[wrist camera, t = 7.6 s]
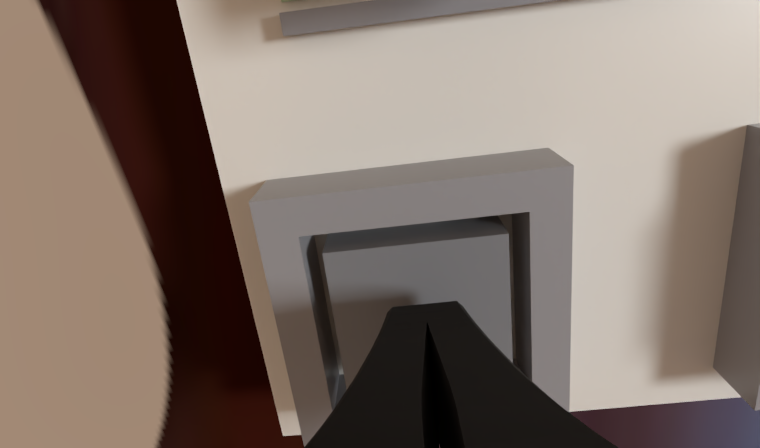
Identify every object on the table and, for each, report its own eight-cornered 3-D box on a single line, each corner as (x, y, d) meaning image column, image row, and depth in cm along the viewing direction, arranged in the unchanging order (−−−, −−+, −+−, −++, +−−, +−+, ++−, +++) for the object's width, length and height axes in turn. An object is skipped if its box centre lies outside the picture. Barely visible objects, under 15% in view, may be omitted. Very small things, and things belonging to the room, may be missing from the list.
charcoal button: (498, 346, 12) (513, 387, 11) (353, 360, 12) (348, 401, 11) (493, 207, 11) (508, 233, 9) (330, 225, 11) (322, 253, 10)
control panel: (902, 320, 15) (1080, 419, 11) (298, 375, 16) (270, 483, 12) (1128, -449, 9) (1667, -799, 5) (155, -282, 10) (13, -474, 6)
